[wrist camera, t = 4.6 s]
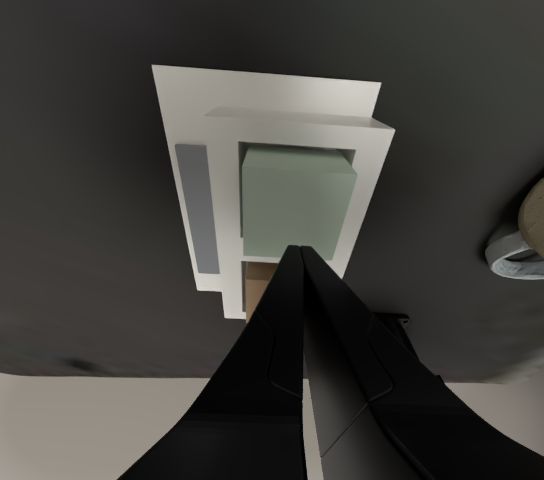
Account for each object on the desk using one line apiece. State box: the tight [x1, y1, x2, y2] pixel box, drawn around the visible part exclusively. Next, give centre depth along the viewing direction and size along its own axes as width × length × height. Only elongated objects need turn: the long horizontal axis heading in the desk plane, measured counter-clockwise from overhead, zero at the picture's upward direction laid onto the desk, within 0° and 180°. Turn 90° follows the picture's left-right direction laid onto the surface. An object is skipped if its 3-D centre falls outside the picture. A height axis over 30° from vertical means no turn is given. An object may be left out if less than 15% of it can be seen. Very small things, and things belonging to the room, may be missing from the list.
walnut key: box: [246, 261, 278, 323], centre depth 16 cm, size 4×4×3 cm
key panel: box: [152, 65, 395, 319], centre depth 15 cm, size 11×16×4 cm
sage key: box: [242, 146, 358, 261], centre depth 11 cm, size 4×4×3 cm
